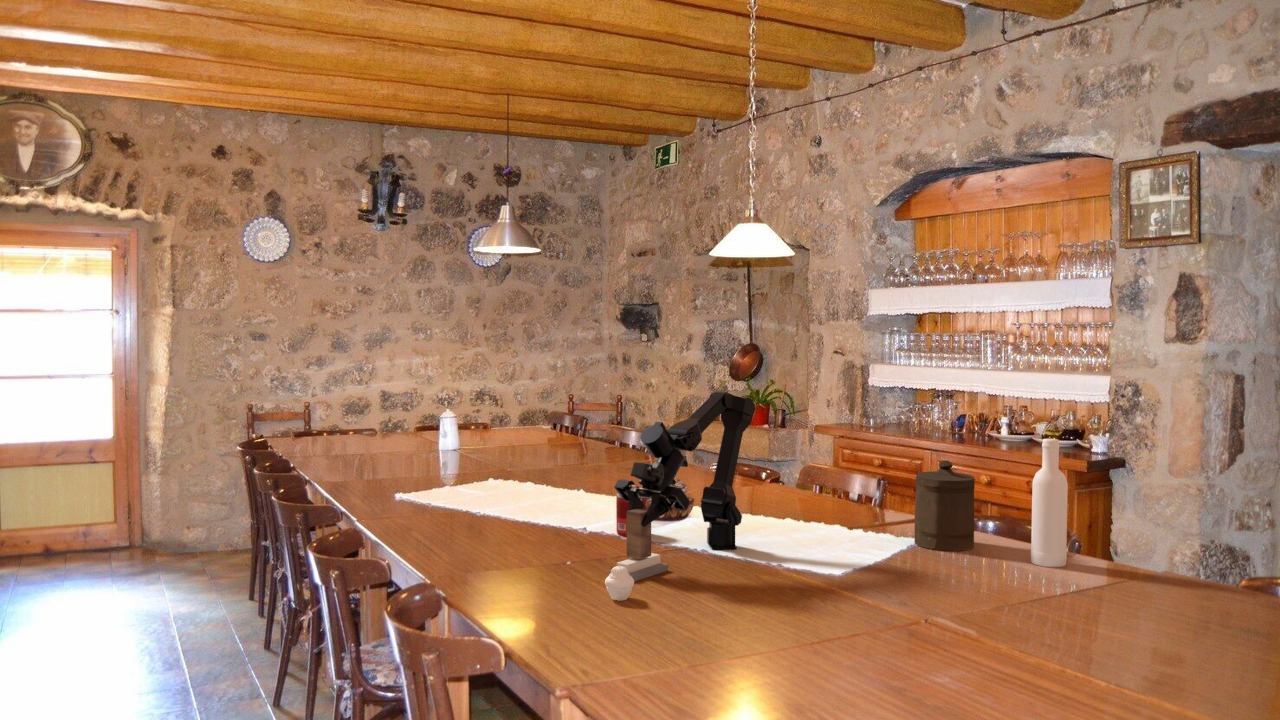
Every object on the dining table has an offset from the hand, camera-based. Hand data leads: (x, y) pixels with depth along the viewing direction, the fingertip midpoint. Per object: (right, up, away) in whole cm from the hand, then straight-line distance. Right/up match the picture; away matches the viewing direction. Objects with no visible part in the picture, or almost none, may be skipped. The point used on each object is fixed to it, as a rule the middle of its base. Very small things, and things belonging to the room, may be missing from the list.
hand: (635, 524), depth 218 cm
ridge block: (+1, -12, +2) cm, 12 cm away
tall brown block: (+1, -8, +1) cm, 8 cm away
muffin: (-3, -13, -18) cm, 22 cm away
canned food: (-1, -10, +42) cm, 44 cm away
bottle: (+99, -12, +12) cm, 101 cm away
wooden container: (+80, -11, +31) cm, 87 cm away
